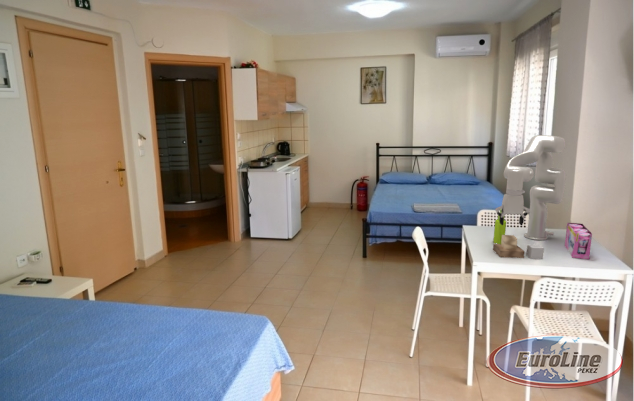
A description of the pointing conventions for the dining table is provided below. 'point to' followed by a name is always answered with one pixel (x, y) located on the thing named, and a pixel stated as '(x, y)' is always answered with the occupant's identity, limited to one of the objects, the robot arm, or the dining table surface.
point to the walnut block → (508, 252)
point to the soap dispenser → (499, 230)
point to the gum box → (578, 240)
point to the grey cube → (535, 251)
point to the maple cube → (509, 242)
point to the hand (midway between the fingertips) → (511, 224)
